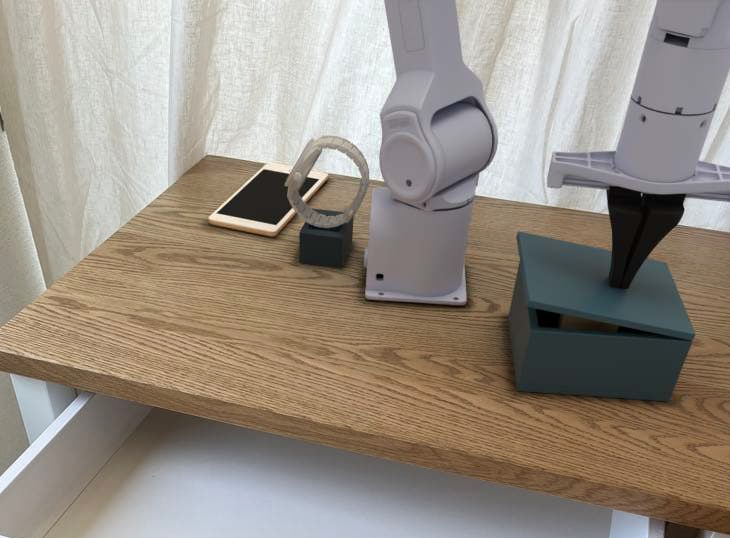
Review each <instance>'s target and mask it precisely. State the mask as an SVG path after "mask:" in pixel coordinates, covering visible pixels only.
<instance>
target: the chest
mask: <svg viewBox="0 0 730 538" xmlns="http://www.w3.org/2000/svg"><path fill="white" fill-rule="evenodd" d="M517 266H518V267H517V272H516V277H515V281H514V287H513V291H512V297H511V301H510V306H509V310H508V316H507V321H508V329H509V337H510V345H511V353H512V362H513V369H514V378H515V385H516V392H525V393H526V392H527V393H539V394H540V393H542V394H553V395H554V394H555V395H569V396H583V397H597V398H610V399H612V398H613V399H614V398H615V399H625V400H626V399H627V400H640V401H641V400H642V401H657V402H670V399H671V397H672V395H673V392H674V390H675V387H676V385H677V382H678V379H679V377H680V375H681V372H682V370H683V368H684V364H685V362H686V359H687V357H688V354H689V352H690V349H691V347H692V345H693V340H687V339H682V338H677V337H672V336H667V335H662V334H657V333H653V332H648V331H643V330H638V329H633V328H628V327H623V326H619V329H618V332H606V331H591V330H576V329H561V328H556V327H557V323H558V319H559V316H560V313H555V312H550V311H545V310H540V309H536V308H531V307H527V302H526V296H525V289H524V283H523V277H522V270H521V264H520V261H519V262H518V265H517Z"/></svg>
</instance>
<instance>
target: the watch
mask: <svg viewBox="0 0 730 538" xmlns="http://www.w3.org/2000/svg"><path fill="white" fill-rule="evenodd" d="M324 149H325V150H326V149H328V150H334V151H337V152H339V153H342V154H344V155H346V156H347V157H348V158H349V159H350V160H352V162H353V163H354V164H355V166H356V167H357V168H358V172H359V174H360V177H361V179H360V181H359V186H358V190H357V193H356V195H355V196H354V198H353V200H352V201H351V203H349V204H348V206H346V207H345V208H344V210H343V211H338V210H328V209H321V208H311V207H310V206H309V205H308V204H307V202H306V203H304V201H303V199H302V198H301V196H300V195H299V192H298V190H299V189H300V188H301V186H302V184H303V183H304V181H305V179H306V178H307V176H308V174H309V173H310V171H311V170H312V169H313V168H314V166H315V165H316V163H317V161H318V159H319V157H320V156H321V153H322V152H323V150H324ZM292 167H293V169H292V171H291V172H290V174H289V176H288V178H287V180H286V182H285V186H286V187H287V186H288V194H287V197H288V199H289V202H290V204H291V205H292V208H293V209H294V211H295V212H296V214H297V216H299V218H300V219H301V220H303V221H304V223H303V225H302V227H301V229H300V231H299V233H298V238H299V239H298V247H299V248H298V250H299V251H298V253H299V254H298V255H299V256H298V263H299V264H305V265H306V264H307V265H314V266H322V267H330V268H336V269H342V268H343V266H344V264H345V261H346V259H347V257H348V254H349V253H350V250H351V247H352V245H353V239H354V238H353V237H354V217H355V215H356V213H357V212H358V211H359V209H360V207H361V206H362V203H363V200H364V198H365V196H366V194H367V192H368V189H369V186H370V184H371V183H370V168H369V164H368V161H367V159H366V158H365V156H364V154H363V153H362V151H361V150H360V149H359V147H358V146H357V145H356V144H354V143H353V142H351V141H350V140H348V139H346V138H344V137H341V136H338V135H322V136H320V137H319V138H317V139H314V138H313V137H312V138H311V139H309V141H308V142H307V143H306V145H305V146H304V149H303V150H302V151H301V153H300V155H299V157H298V159H297V160H296V162H295V164H294V166H292Z"/></svg>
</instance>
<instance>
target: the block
mask: <svg viewBox="0 0 730 538" xmlns="http://www.w3.org/2000/svg"><path fill="white" fill-rule="evenodd" d="M556 328H561V329H576V330H591V331H606V332H618V329H619V326H618V325H614V324H609V323H604V322H599V321H594V320H589V319H584V318H579V317H575V316H570V315H565V314H560V316H559V319H558V323H557V327H556Z"/></svg>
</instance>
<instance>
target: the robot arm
mask: <svg viewBox="0 0 730 538" xmlns="http://www.w3.org/2000/svg"><path fill="white" fill-rule="evenodd" d="M383 3H384V8H385V16H386V21H387V26H388V27H387V28H388V34H389V39H390V45H391V52H392V53H391V54H392V59H393V65H394V71H395V82H394V83H393V86H392V88H391V90H390V92H389V94H388V95H387V98H386V100H385V101H384V104H383V105H382V108H381V110H380V113H379V119H380V125H381V143H380V148H379V154H378V155H379V156H378V160H379V161H378V162H379V170H380V174H381V176H382V179H383V181H384V184H385V185H386V186H379V187H373V188H372V190H371V191H372V193H371V202H370V215H369V228H368V229H369V230H368V245H367V246H368V247H365V248H364V256H363V269H364V268H366V277H365V278H366V279H365V292H364V297H365V298H366V299H367V300H374V301H388V302H403V303H405V302H406V303H419V304H420V303H421V304H435V305H450V306H466V304H467V301H468V299H467V298H468V297H467V283H466V266H465V265H466V264H465V260H466V254H467V249H468V242H469V234H470V228H471V221H472V215H473V208H474V201H475V195H476V189H477V187H478V186H479V179H480V174H481V173H482V172H483V171H484V170H487V168H488V167H489V166H490V165H491V164H492V162H493V161H494V159H495V157H496V153H497V151H498V144H499V133H498V128H497V124H496V121H495V118H494V116H493V115H492V113H491V111H490V109H489V107H488V105H487V102H486V99H485V93H484V85H483V81H482V80H481V78H479V77H478V76H477V75H476V73H475V72H473V70H471V69H470V67H468V66H467V64H465V62H464V60H463V59H464V58H463V52H462V51H463V50H462V43H461V35H460V26H459V19H458V10H457V9H458V8H457V1H456V0H383ZM729 72H730V0H656V3H655V7H654V9H653V14H652V18H651V20H650V23H649V27H648V32H647V34H646V38H645V42H644V46H643V50H642V53H641V57H640V60H639V63H638V68H637V72H636V76H635V80H634V83H633V86H632V89H631V90H632V91H631V94H630V97H629V101H628V106H627V110H626V112H625V117H624V120H623V124H622V129H621V131H620V135H619V138H618V142H617V146H616V150H601V151H599V150H598V151H578V152H577V151H576V152H575V151H574V152H571V151H570V152H569V151H568V152H567V151H552V153H551V157H550V163H549V167H548V172H547V177H546V187H547V188H549V189H562V187H563V186H567V187H576V188H586V189H594V190H595V189H596V190H605V193H606V202H607V203H606V204H607V211H608V216H609V222H610V229H611V251H612V257H611V266H610V272H609V284H610V287H614V288H619V286H620V288H623V289H629V287H630V284H631V282H632V281H633V279H634V277H635V275H636V273H637V272H638V270H639V269H640V267H641V266H642V264H643V263H644V261H645V260H646V258H648V257H649V256H650V254H651V253H652V252H653V251H654V249H655V248H656V247H657V246H658V245H659V244H660V242H661V241H662V240H663V239H664V238H665V237H666V236H667V235H668V234H669V233H670V232H672V231H673V230H674V229H675V228H676V227H677V226H678V225H679V223H680V222H681V220H682V218H683V217H684V214H685V205H684V203H685V200H686V199H695V200H704V201H705V200H706V201H714V202H725V203H730V166H726V165H723V164H717V163H713V162H709V161H705V160H700V157H701V155H702V151H703V148H704V145H705V144H706V143H705V142H706V140H707V137H708V134H709V131H710V128H711V125H712V121H713V119H714V116H715V113H716V111H717V108H718V104H719V102H720V99H721V96H722V93H723V90H724V87H725V84H726V81H727V78H728V75H729Z"/></svg>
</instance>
